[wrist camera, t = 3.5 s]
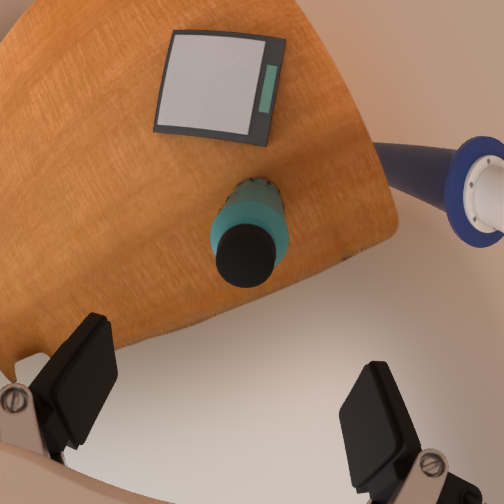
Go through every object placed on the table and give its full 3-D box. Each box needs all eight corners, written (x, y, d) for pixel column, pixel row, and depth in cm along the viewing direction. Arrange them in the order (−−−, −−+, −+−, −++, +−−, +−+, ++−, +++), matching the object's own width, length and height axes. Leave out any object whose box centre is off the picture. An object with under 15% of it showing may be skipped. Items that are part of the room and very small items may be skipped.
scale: (285, 45, 30) (286, 37, 27) (266, 146, 35) (266, 146, 32) (178, 35, 29) (171, 28, 26) (159, 132, 34) (150, 132, 32)
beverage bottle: (288, 184, 36) (312, 230, 18) (272, 231, 39) (276, 317, 20) (239, 167, 36) (209, 197, 17) (224, 216, 38) (185, 290, 20)
